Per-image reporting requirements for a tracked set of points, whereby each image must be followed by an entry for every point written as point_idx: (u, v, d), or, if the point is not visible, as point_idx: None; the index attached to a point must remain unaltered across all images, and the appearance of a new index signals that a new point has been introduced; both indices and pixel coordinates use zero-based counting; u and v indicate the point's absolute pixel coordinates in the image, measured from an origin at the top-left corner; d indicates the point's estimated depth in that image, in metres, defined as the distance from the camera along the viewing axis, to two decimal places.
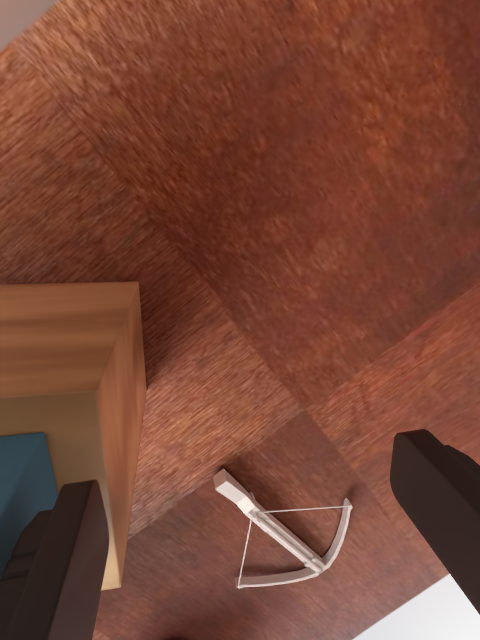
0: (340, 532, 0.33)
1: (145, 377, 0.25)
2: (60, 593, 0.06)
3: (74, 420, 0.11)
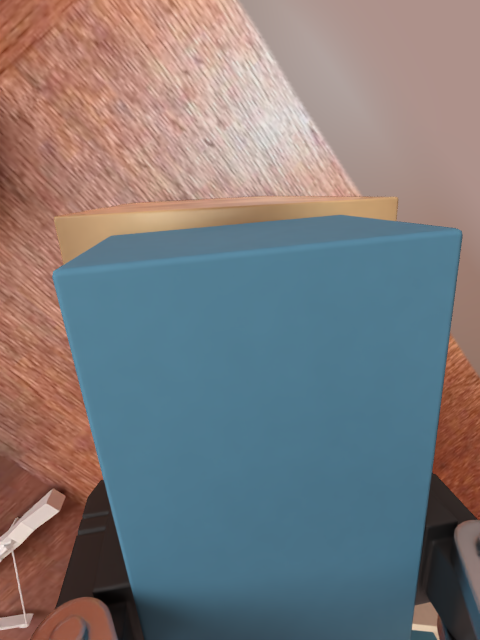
0: None
1: None
2: None
3: None
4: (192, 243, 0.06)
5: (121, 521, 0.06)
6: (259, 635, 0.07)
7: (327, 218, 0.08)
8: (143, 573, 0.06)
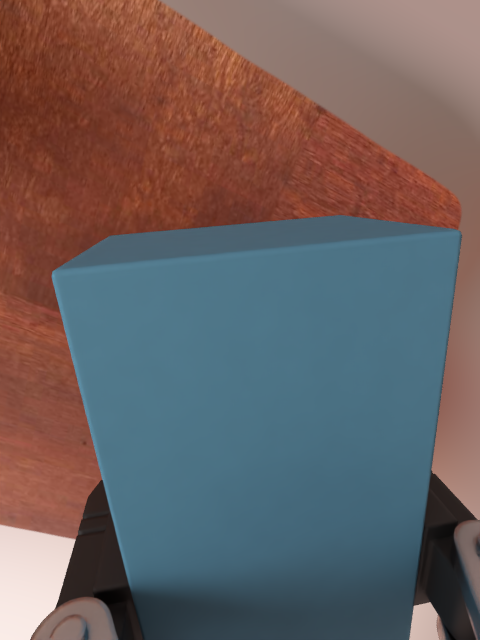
0: None
1: None
2: None
3: None
4: (192, 243, 0.06)
5: (121, 520, 0.06)
6: (258, 636, 0.07)
7: (327, 219, 0.08)
8: (142, 573, 0.06)
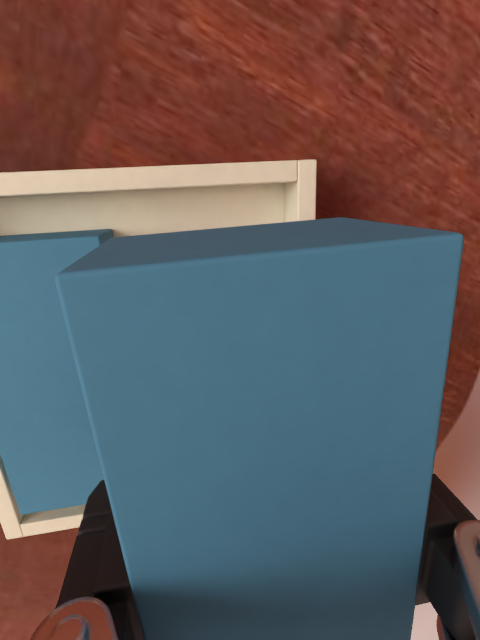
0: None
1: None
2: None
3: None
4: (194, 246, 0.06)
5: (123, 524, 0.06)
6: (259, 637, 0.07)
7: (328, 221, 0.08)
8: (144, 575, 0.06)
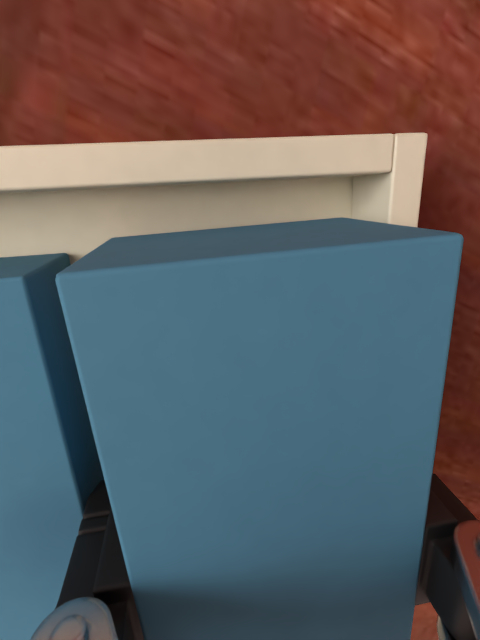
0: None
1: None
2: None
3: None
4: (194, 246, 0.06)
5: (123, 523, 0.06)
6: (260, 637, 0.07)
7: (328, 221, 0.08)
8: (144, 575, 0.06)
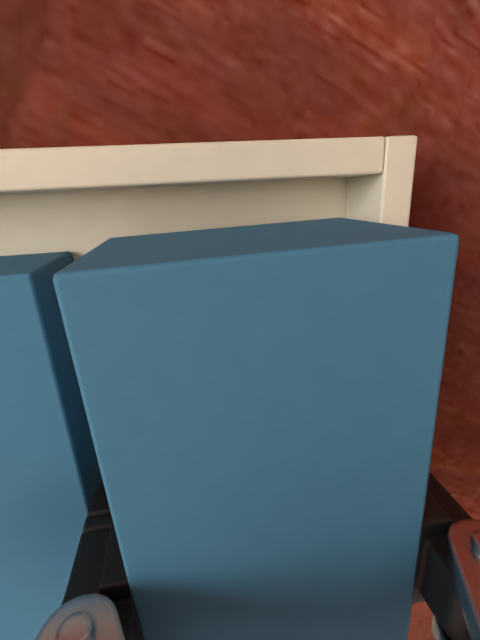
0: None
1: None
2: None
3: None
4: (191, 246, 0.06)
5: (120, 522, 0.06)
6: (257, 635, 0.07)
7: (326, 221, 0.08)
8: (142, 574, 0.06)
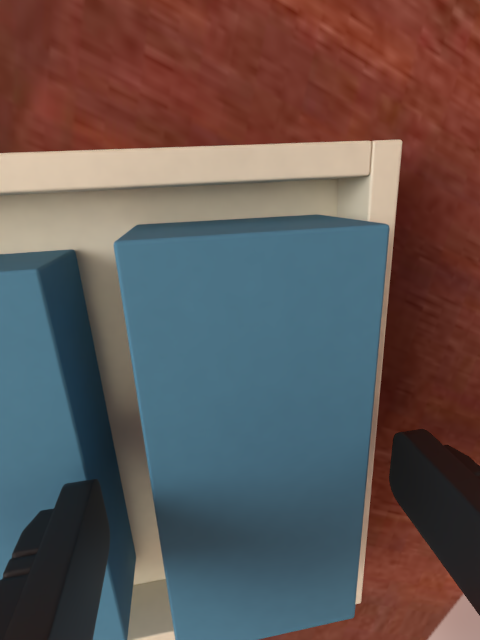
0: None
1: None
2: (61, 592, 0.06)
3: None
4: (203, 229, 0.08)
5: (148, 425, 0.08)
6: (244, 529, 0.09)
7: (305, 216, 0.10)
8: (160, 468, 0.08)
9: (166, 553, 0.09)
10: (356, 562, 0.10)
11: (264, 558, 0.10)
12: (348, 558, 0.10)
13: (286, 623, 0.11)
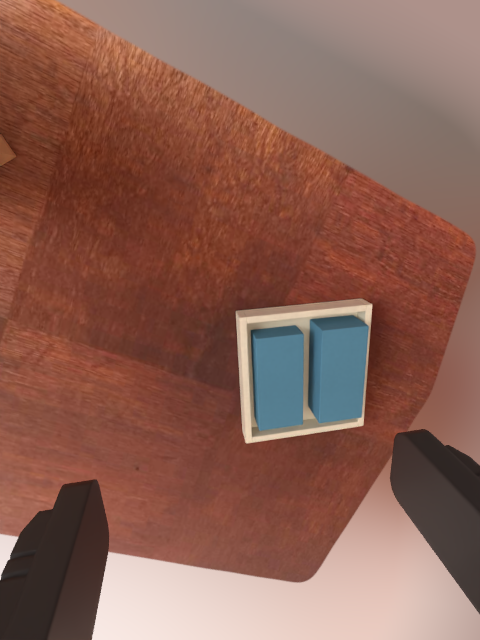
0: None
1: None
2: (60, 593, 0.06)
3: None
4: (332, 325, 0.41)
5: (322, 363, 0.41)
6: (337, 388, 0.42)
7: (350, 317, 0.43)
8: (323, 372, 0.41)
9: (321, 393, 0.42)
10: (362, 400, 0.44)
11: (341, 396, 0.43)
12: (360, 398, 0.43)
13: (345, 416, 0.44)
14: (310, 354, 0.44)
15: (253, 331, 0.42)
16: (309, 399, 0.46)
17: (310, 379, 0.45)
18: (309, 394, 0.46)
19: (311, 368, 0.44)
